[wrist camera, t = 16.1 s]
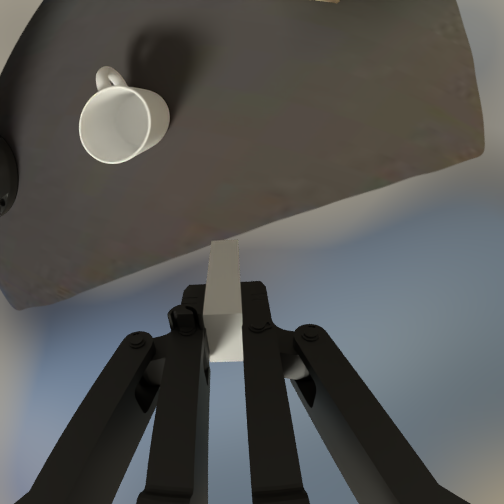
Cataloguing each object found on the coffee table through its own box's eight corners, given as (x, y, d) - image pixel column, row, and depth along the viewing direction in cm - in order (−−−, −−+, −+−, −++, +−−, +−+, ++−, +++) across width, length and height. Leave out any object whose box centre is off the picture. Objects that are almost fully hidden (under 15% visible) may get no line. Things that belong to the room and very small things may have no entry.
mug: (95, 85, 32) (57, 83, 23) (148, 56, 31) (121, 42, 22) (127, 159, 37) (97, 176, 28) (180, 133, 36) (163, 142, 27)
